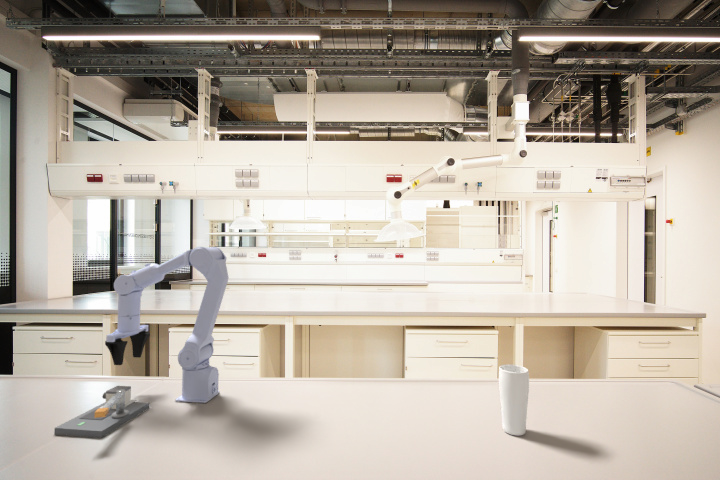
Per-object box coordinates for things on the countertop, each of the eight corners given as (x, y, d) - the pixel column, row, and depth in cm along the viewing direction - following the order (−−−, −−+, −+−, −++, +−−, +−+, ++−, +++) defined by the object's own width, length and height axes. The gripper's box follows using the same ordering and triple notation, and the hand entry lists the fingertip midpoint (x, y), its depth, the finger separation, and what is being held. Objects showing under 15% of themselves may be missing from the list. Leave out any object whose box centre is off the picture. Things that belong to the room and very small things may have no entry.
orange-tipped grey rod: (117, 411, 93) (117, 389, 94) (126, 410, 94) (126, 388, 94) (93, 437, 80) (94, 412, 81) (104, 436, 81) (105, 411, 81)
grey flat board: (151, 406, 101) (151, 399, 101) (101, 437, 85) (101, 428, 85) (111, 404, 103) (111, 396, 103) (54, 434, 86) (54, 425, 86)
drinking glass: (527, 427, 91) (527, 365, 92) (530, 440, 85) (530, 374, 85) (498, 422, 93) (498, 363, 94) (499, 435, 87) (499, 371, 88)
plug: (130, 401, 101) (130, 386, 101) (119, 407, 97) (119, 391, 97) (110, 400, 102) (110, 385, 102) (98, 406, 98) (99, 390, 98)
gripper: (134, 310, 118) (133, 353, 118) (97, 318, 104) (95, 367, 103) (154, 311, 117) (153, 354, 117) (120, 319, 103) (118, 368, 103)
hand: (128, 360), depth 110 cm, fingers open, 7 cm apart
